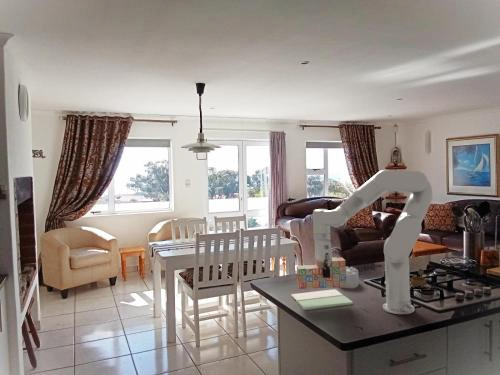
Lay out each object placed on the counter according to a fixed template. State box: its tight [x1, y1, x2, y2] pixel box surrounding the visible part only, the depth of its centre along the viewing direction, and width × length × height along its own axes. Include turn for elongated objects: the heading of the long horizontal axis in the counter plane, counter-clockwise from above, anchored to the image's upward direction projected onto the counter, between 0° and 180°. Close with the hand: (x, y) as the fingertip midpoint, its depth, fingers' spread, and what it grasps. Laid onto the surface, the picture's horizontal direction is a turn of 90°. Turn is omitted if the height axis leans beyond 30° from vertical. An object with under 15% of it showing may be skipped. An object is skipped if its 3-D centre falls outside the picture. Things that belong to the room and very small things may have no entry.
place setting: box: [410, 268, 427, 287], centre depth 190 cm, size 18×20×6 cm
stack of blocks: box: [296, 256, 347, 290], centre depth 172 cm, size 21×6×12 cm, turn 90°
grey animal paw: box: [341, 266, 360, 289], centre depth 199 cm, size 10×13×9 cm
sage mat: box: [297, 295, 354, 311], centre depth 172 cm, size 9×23×1 cm, turn 101°
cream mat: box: [290, 288, 344, 303], centre depth 182 cm, size 9×23×1 cm, turn 101°
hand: (323, 274), depth 172 cm, fingers closed on stack of blocks, 6 cm apart
